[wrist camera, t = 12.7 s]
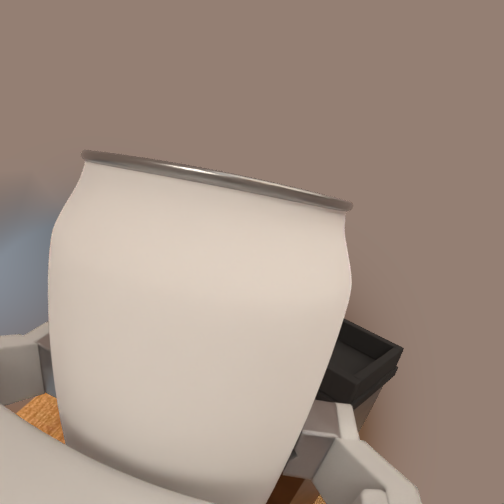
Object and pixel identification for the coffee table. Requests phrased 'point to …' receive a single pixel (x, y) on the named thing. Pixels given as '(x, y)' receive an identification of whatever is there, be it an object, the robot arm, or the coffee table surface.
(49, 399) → the coffee table surface
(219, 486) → the can
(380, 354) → the black socket pad
